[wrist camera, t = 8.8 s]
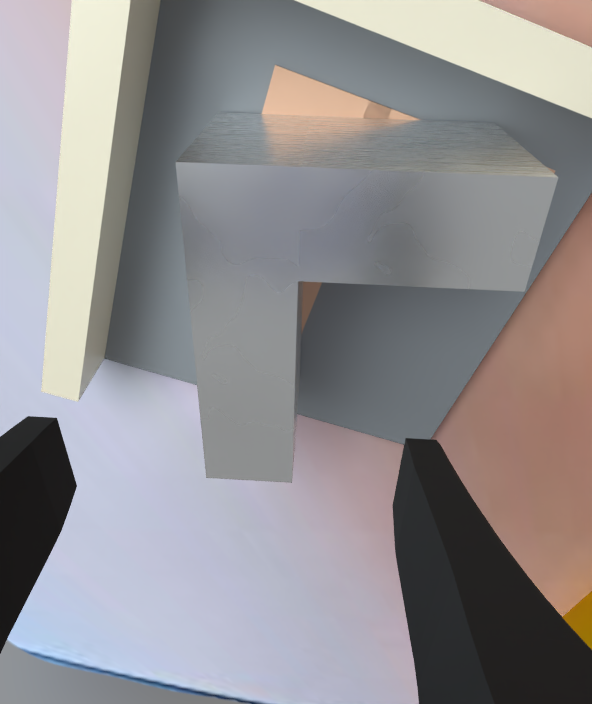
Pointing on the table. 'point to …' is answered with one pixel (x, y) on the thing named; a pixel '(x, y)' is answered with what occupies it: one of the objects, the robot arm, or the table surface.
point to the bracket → (332, 246)
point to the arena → (307, 100)
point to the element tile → (582, 619)
